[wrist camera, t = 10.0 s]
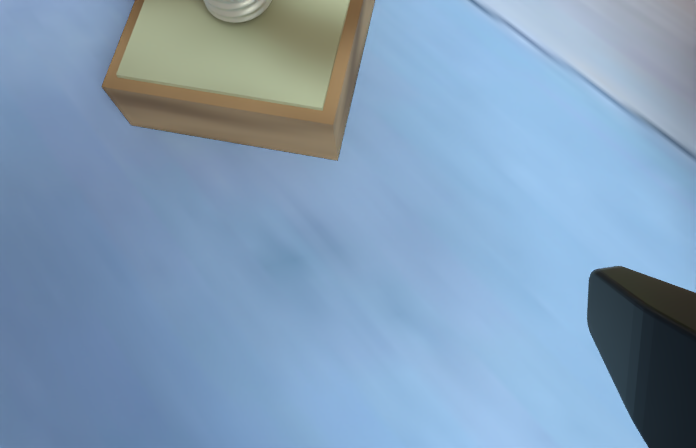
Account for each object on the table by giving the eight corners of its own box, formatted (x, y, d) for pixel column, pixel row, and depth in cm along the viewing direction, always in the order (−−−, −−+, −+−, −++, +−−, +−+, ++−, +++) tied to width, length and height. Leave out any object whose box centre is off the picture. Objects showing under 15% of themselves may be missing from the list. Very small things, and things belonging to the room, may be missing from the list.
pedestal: (337, 160, 25) (332, 122, 22) (131, 125, 26) (99, 83, 23) (378, -15, 28) (379, -71, 25) (191, -41, 29) (170, -98, 26)
